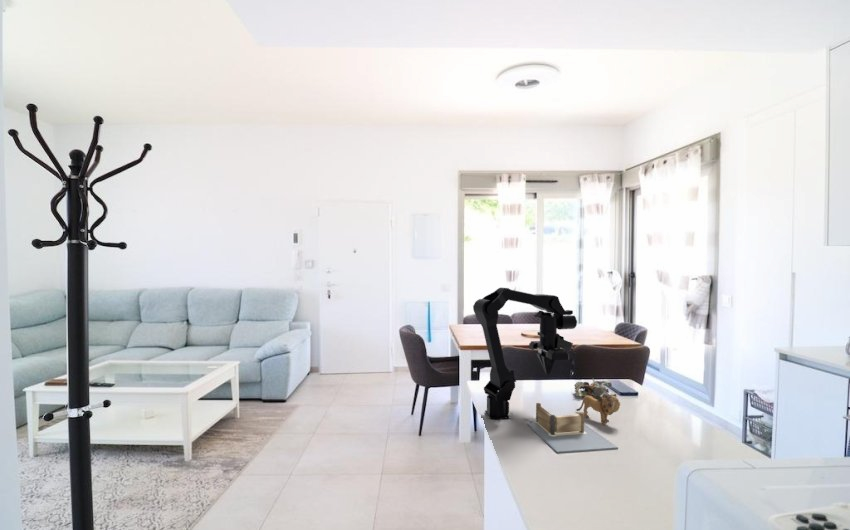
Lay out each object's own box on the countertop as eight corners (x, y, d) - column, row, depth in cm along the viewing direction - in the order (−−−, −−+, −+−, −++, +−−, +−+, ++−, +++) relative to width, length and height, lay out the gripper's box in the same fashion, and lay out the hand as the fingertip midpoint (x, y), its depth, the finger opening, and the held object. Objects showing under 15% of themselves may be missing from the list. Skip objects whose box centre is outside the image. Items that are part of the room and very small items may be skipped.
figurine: (627, 392, 137) (581, 392, 137) (626, 408, 137) (580, 409, 137) (601, 373, 157) (560, 373, 157) (600, 387, 157) (560, 388, 157)
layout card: (557, 453, 101) (557, 451, 101) (526, 423, 120) (526, 422, 120) (618, 448, 104) (618, 447, 104) (578, 420, 123) (578, 419, 123)
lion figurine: (623, 424, 121) (623, 396, 121) (614, 428, 118) (615, 399, 118) (580, 410, 132) (580, 384, 133) (571, 413, 129) (571, 387, 129)
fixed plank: (551, 436, 111) (551, 416, 111) (535, 422, 122) (535, 403, 122) (555, 436, 111) (556, 415, 111) (539, 421, 122) (539, 402, 122)
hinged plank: (557, 434, 111) (557, 415, 111) (554, 432, 113) (554, 413, 113) (584, 432, 113) (585, 413, 113) (582, 430, 115) (582, 411, 115)
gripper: (584, 334, 126) (583, 381, 126) (556, 325, 144) (556, 366, 144) (552, 335, 124) (552, 382, 124) (528, 326, 143) (528, 367, 143)
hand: (547, 374), depth 134 cm, fingers closed
